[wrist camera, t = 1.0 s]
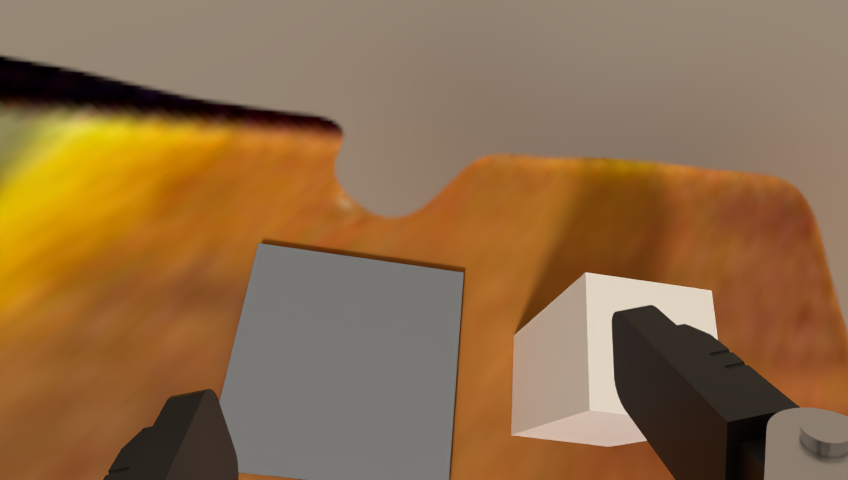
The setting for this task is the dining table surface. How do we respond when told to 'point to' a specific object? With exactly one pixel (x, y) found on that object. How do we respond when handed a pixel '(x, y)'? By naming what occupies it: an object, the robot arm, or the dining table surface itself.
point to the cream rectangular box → (588, 358)
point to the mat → (344, 368)
